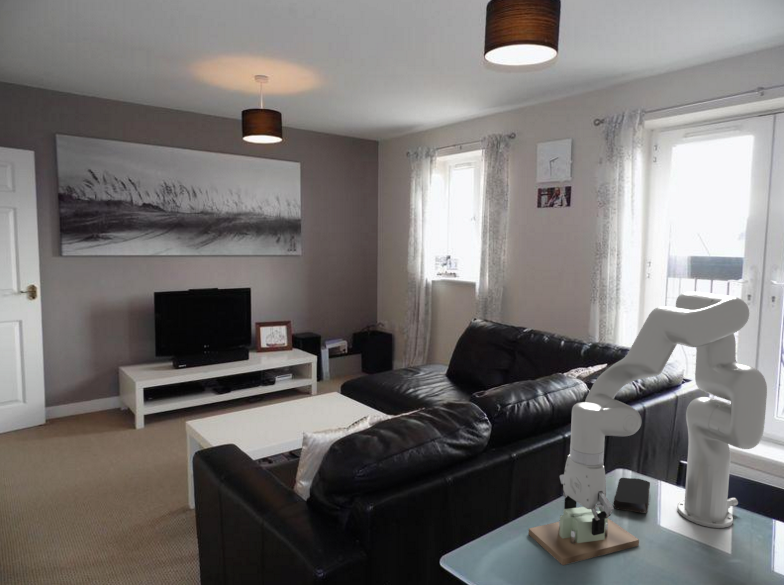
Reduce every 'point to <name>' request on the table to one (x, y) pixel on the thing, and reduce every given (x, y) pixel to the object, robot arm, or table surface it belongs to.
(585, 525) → the green grooved block
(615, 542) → the pin plate
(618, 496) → the black sponge
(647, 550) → the table surface
